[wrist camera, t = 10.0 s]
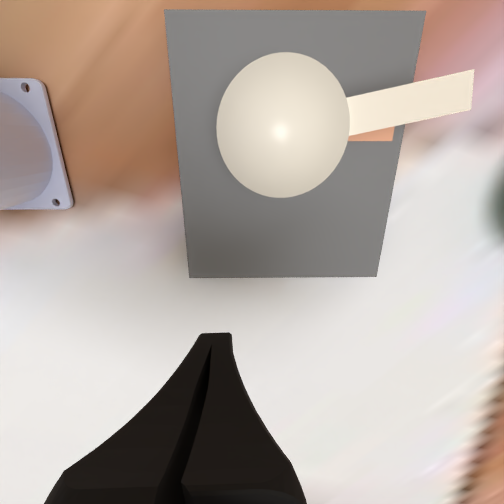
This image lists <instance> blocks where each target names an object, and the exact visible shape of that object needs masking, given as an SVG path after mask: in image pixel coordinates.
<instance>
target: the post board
mask: <svg viewBox="0 0 504 504" xmlns="http://www.w3.org/2000/svg"><path fill="white" fill-rule="evenodd" d="M164 14H165V25H166V35H167V46H168V56H169V67H170V77H171V88H172V98H173V109H174V120H175V130H176V141H177V151H178V162H179V172H180V183H181V193H182V204H183V214H184V225H185V236H186V246H187V257H188V267H189V278H266V277H376V276H377V271H378V265H379V260H380V255H381V249H382V244H383V239H384V233H385V228H386V223H387V217H388V212H389V207H390V201H391V196H392V191H393V185H394V180H395V175H396V169H397V164H398V159H399V153H400V148H401V143H402V137H403V132H404V127H405V124H402V125H398V126H393V127H388V128H384V129H379V130H374V131H370V132H365V133H360V134H356V135H351V136H349V137H348V141H347V145H346V148H345V151H344V154H343V156H342V158H341V160H340V162H339V163H338V165H337V166H336V168H335V169H334V171H333V172H332V173H331V174H330V175H329V176H328V177H327V178H326V179H325V180H324V181H323V182H322V183H321V184H319V185H318V186H317V187H315V188H313V189H312V190H310V191H308V192H306V193H303V194H301V195H297V196H293V197H287V198H275V197H268V196H264V195H261V194H258V193H256V192H253V191H252V190H250V189H248V188H246V187H245V186H244V185H243V184H241V183H240V182H239V181H238V180H237V179H236V178H235V177H234V176H233V175H232V173H231V172H230V171H229V169H228V168H227V166H226V164H225V162H224V160H223V158H222V156H221V153H220V149H219V146H218V140H217V130H216V125H217V115H218V110H219V106H220V103H221V100H222V97H223V95H224V93H225V91H226V89H227V87H228V86H229V84H230V83H231V81H232V80H233V79H234V78H235V76H236V75H237V74H238V73H239V72H240V71H241V70H242V69H243V68H244V67H246V66H247V65H248V64H250V63H251V62H253V61H255V60H257V59H259V58H261V57H263V56H266V55H269V54H273V53H279V52H293V53H299V54H303V55H306V56H309V57H311V58H313V59H315V60H317V61H318V62H320V63H321V64H323V65H324V66H325V67H326V68H327V69H328V70H329V71H330V72H332V74H333V75H334V76H335V77H336V79H337V80H338V82H339V83H340V85H341V87H342V89H343V91H344V94H345V96H346V98H347V97H352V96H356V95H361V94H365V93H370V92H374V91H379V90H383V89H388V88H392V87H397V86H401V85H406V84H410V83H413V79H414V73H415V68H416V63H417V57H418V52H419V47H420V41H421V36H422V31H423V25H424V20H425V15H426V11H355V10H164Z"/></svg>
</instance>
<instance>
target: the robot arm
mask: <svg viewBox="0 0 504 504" xmlns="http://www.w3.org/2000/svg"><path fill="white" fill-rule="evenodd" d="M26 84H28V85H29V87H30V91H29V92H27V90H26V87H25V86H26ZM56 199H57V200H59V202H60V205H58V204H57V203H56ZM72 206H73V198H72V194H71V190H70V186H69V182H68V178H67V174H66V170H65V166H64V161H63V157H62V153H61V149H60V145H59V141H58V137H57V133H56V128H55V124H54V120H53V116H52V112H51V108H50V104H49V100H48V95H47V91H46V88H45V85H44V84H43V83H42V82H41V81H40V80H38V79H34V78H0V210H36V209H69V208H71V207H72ZM44 504H307V503H306V499H305V496H304V493H303V490H302V487H301V485H300V482H299V480H298V478H297V475H296V473H295V471H294V468H293V466H292V464H291V462H290V460H289V459H288V458H287V457H286V455H285V454H284V453H283V451H282V450H281V449H280V447H279V446H278V445H277V443H276V442H275V440H274V439H273V437H272V436H271V434H270V433H269V431H268V430H267V428H266V426H265V425H264V423H263V421H262V420H261V418H260V417H259V415H258V413H257V411H256V410H255V408H254V406H253V404H252V402H251V400H250V398H249V396H248V394H247V391H246V389H245V387H244V385H243V382H242V379H241V377H240V374H239V371H238V368H237V365H236V362H235V359H234V355H233V346H232V335H231V334H230V333H202V334H200V335H199V337H198V339H197V340H196V342H195V344H194V345H193V347H192V348H191V350H190V351H189V353H188V354H187V356H186V357H185V359H184V360H183V361H182V363H181V364H180V366H179V367H178V368H177V370H176V371H175V372H174V373H173V375H172V376H171V377H170V378H169V380H168V381H167V382H166V383H165V385H164V386H163V387H162V388H161V389H160V390H159V392H158V393H157V394H156V395H155V396H154V397H153V398H152V399H151V400H150V401H149V402H148V403H147V404H146V405H145V406H144V407H143V408H142V409H141V410H140V411H139V412H138V413H137V414H136V415H135V416H134V417H133V418H132V419H131V420H130V421H129V422H128V423H126V424H125V425H124V426H123V427H122V428H121V429H119V430H118V431H117V432H116V433H115V434H113V435H112V436H111V437H110V438H109V439H107V440H106V441H105V442H104V443H102V444H101V445H100V446H98V447H97V448H96V449H95V450H93V451H92V452H90V453H89V454H87V455H86V456H85V457H83V458H82V459H80V460H79V461H78V462H76V463H75V464H73V465H72V466H71V467H69V468H68V469H66V470H65V471H64V472H63V473H62V475H61V477H60V478H59V480H58V481H57V483H56V484H55V486H54V487H53V489H52V491H51V492H50V494H49V496H48V497H47V499H46V501H45V503H44Z"/></svg>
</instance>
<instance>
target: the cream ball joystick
mask: <svg viewBox="0 0 504 504" xmlns="http://www.w3.org/2000/svg"><path fill="white" fill-rule="evenodd" d="M473 79H474V69H473V70H468V71H464V72H459V73H455V74H450V75H446V76H441V77H437V78H432V79H428V80H424V81H419V82H415V83H410V84H406V85H401V86H397V87H392V88H388V89H383V90H379V91H374V92H370V93H365V94H361V95H356V96H352V97H347V98H346V96H345V94H344V91H343V89H342V87H341V85H340V83H339V82H338V80H337V79H336V77H335V76H334V75H333V74H332V72H330V71H329V70H328V69H327V68H326V67H325V66H324V65H323V64H321V63H320V62H318V61H317V60H315V59H313V58H311V57H309V56H306V55H303V54H299V53H293V52H279V53H273V54H269V55H266V56H263V57H261V58H259V59H257V60H255V61H253V62H251V63H250V64H248V65H247V66H246V67H244V68H243V69H242V70H241V71H240V72H239V73H238V74H237V75H236V76H235V78H234V79H233V80H232V81H231V83H230V84H229V86H228V87H227V89H226V91H225V93H224V95H223V97H222V100H221V103H220V106H219V110H218V115H217V125H216V130H217V140H218V146H219V149H220V153H221V156H222V158H223V160H224V162H225V164H226V166H227V168H228V169H229V171H230V172H231V173H232V175H233V176H234V177H235V178H236V179H237V180H238V181H239V182H240V183H241V184H243V185H244V186H245V187H246V188H248V189H250V190H252V191H253V192H256V193H258V194H261V195H264V196H268V197H275V198H287V197H293V196H297V195H301V194H303V193H306V192H308V191H310V190H312V189H313V188H315V187H317V186H318V185H319V184H321V183H322V182H323V181H324V180H325V179H326V178H327V177H328V176H329V175H330V174H331V173H332V172H333V171H334V169H335V168H336V166H337V165H338V163H339V162H340V160H341V158H342V156H343V154H344V151H345V148H346V145H347V141H348V137H349V136H351V135H356V134H360V133H365V132H370V131H374V130H379V129H384V128H388V127H393V126H398V125H402V124H407V123H412V122H416V121H421V120H426V119H430V118H435V117H440V116H444V115H449V114H454V113H458V112H463V111H468V110H471V103H472V91H473Z"/></svg>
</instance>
